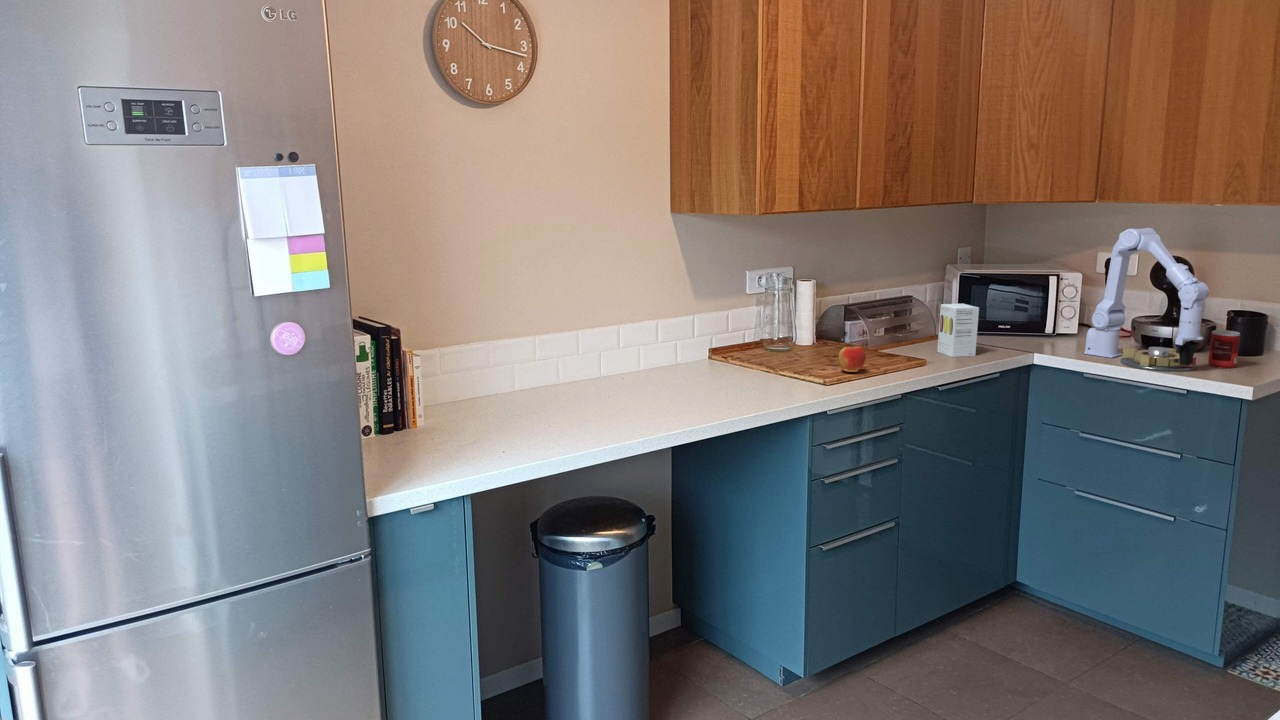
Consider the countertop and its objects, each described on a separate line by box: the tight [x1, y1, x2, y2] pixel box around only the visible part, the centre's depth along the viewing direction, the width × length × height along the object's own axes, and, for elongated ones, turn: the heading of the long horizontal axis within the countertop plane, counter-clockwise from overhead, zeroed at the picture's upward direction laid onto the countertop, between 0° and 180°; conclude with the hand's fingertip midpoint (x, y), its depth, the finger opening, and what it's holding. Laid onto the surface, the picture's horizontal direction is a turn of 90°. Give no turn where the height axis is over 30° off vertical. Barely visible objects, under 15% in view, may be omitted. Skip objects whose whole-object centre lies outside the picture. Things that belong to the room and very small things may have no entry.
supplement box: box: [937, 303, 980, 358], centre depth 310 cm, size 10×9×17 cm
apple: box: [838, 340, 866, 370], centre depth 282 cm, size 8×8×10 cm
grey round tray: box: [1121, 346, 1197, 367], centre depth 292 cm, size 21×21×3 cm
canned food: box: [1207, 329, 1241, 369], centre depth 289 cm, size 8×8×11 cm
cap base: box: [1120, 346, 1197, 373], centre depth 293 cm, size 21×23×5 cm
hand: (1185, 364), depth 284 cm, fingers closed
